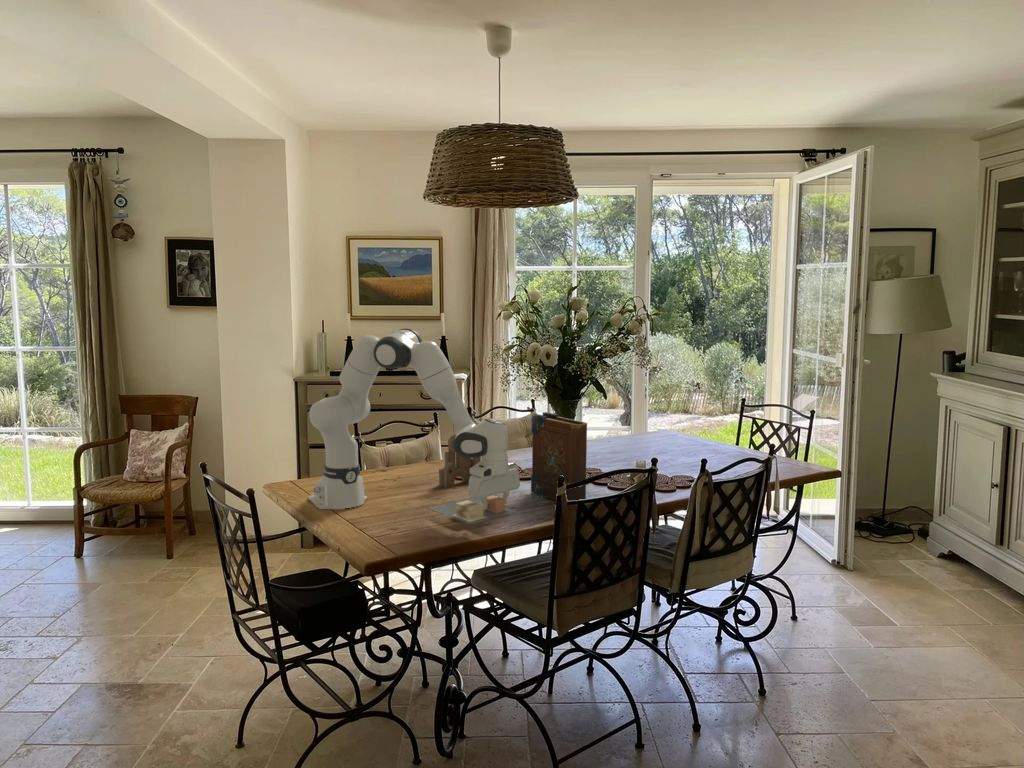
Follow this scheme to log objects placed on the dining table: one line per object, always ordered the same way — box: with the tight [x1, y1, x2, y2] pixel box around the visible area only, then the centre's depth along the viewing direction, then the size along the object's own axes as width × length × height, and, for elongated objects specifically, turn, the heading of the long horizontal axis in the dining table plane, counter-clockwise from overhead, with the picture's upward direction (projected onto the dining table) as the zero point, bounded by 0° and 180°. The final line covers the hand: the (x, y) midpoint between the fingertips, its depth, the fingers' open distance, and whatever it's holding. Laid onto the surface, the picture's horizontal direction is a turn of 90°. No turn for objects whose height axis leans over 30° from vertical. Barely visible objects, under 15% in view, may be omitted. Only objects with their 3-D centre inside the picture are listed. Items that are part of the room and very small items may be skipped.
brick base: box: [456, 500, 483, 521], centre depth 246 cm, size 8×5×4 cm, turn 42°
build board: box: [428, 497, 517, 525], centre depth 254 cm, size 23×20×2 cm
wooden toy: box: [438, 434, 482, 490], centre depth 289 cm, size 16×7×25 cm, turn 120°
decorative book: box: [530, 411, 588, 501], centre depth 270 cm, size 23×7×30 cm, turn 39°
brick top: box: [486, 495, 506, 513], centre depth 254 cm, size 6×4×4 cm, turn 42°
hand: (494, 506), depth 254 cm, fingers open, 6 cm apart
